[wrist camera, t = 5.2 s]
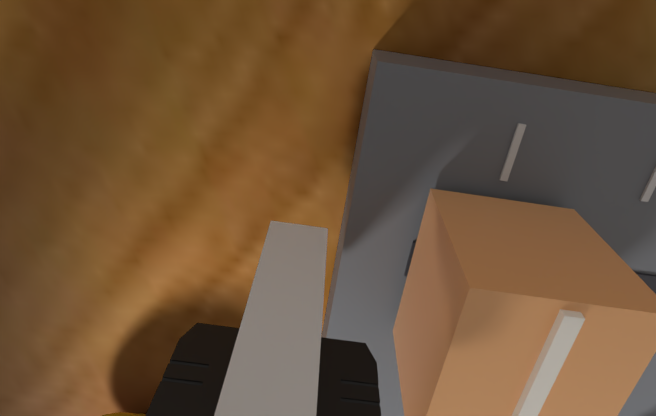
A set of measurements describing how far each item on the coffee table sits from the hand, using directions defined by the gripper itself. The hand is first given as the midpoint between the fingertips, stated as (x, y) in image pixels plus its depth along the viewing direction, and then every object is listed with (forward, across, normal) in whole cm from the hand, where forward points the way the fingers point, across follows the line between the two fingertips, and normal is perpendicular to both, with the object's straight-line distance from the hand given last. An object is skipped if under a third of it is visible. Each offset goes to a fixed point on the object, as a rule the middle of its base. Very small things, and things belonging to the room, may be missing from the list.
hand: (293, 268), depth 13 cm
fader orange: (+2, +5, 0) cm, 6 cm away
